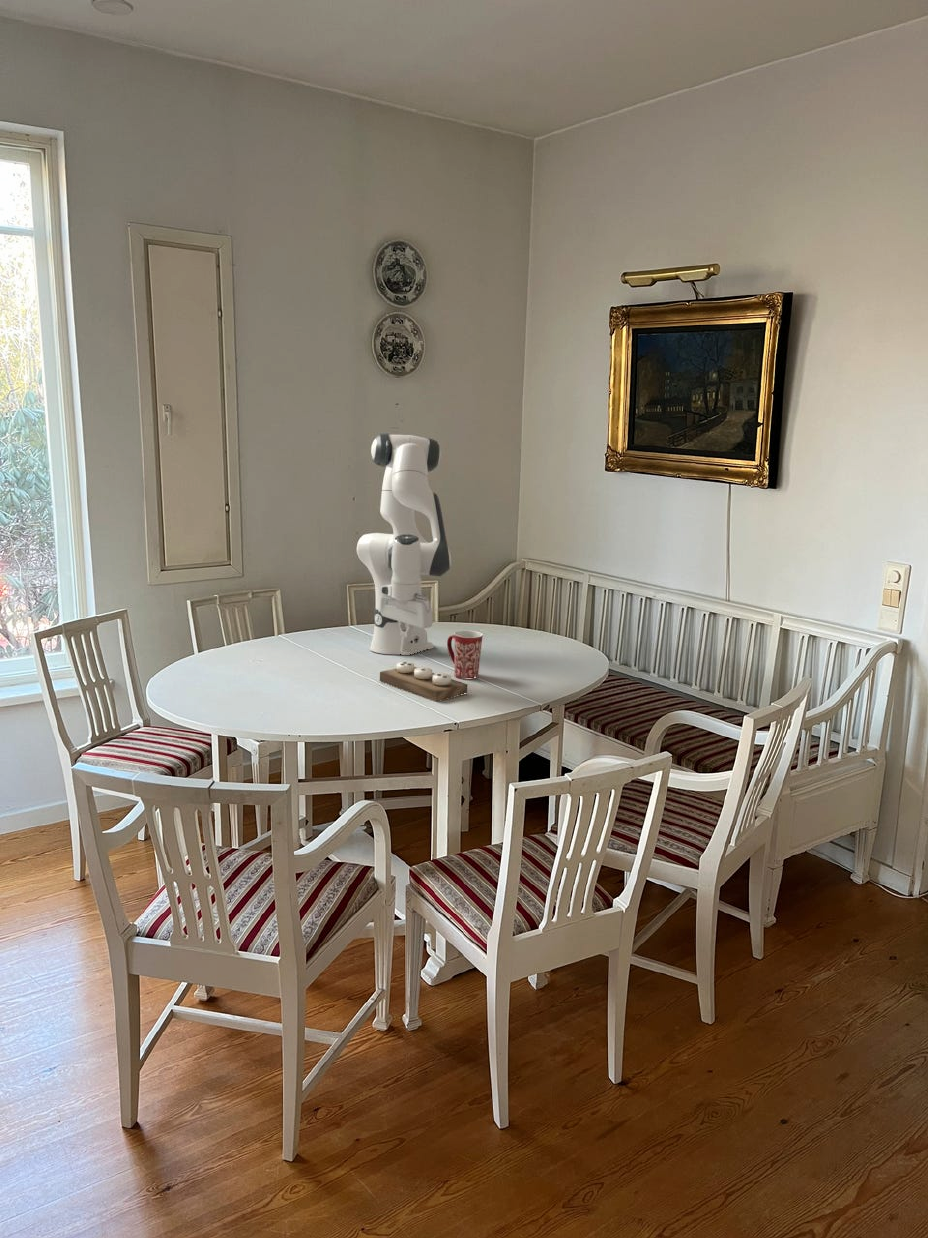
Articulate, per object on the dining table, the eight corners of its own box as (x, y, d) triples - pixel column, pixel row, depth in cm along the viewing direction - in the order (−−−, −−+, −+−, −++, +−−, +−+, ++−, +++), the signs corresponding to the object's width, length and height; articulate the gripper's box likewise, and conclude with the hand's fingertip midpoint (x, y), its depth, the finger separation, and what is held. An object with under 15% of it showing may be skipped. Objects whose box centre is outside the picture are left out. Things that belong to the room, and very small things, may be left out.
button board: (410, 675, 288) (410, 665, 288) (467, 694, 271) (467, 684, 270) (379, 681, 280) (379, 671, 279) (436, 701, 262) (436, 691, 262)
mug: (487, 677, 289) (489, 634, 286) (466, 682, 283) (468, 638, 280) (458, 668, 298) (460, 626, 295) (437, 673, 292) (439, 630, 289)
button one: (423, 673, 278) (424, 666, 278) (435, 677, 275) (435, 669, 274) (410, 676, 275) (410, 668, 274) (422, 680, 271) (422, 672, 271)
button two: (442, 679, 273) (442, 672, 272) (454, 683, 269) (454, 676, 268) (428, 682, 269) (428, 674, 269) (440, 686, 265) (441, 679, 265)
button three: (406, 667, 284) (406, 660, 283) (417, 671, 280) (417, 664, 280) (392, 670, 280) (393, 663, 280) (404, 674, 277) (404, 666, 276)
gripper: (438, 596, 270) (437, 642, 273) (392, 583, 284) (392, 628, 288) (421, 599, 266) (420, 646, 269) (376, 586, 280) (376, 631, 284)
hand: (405, 636), depth 279 cm, fingers closed
